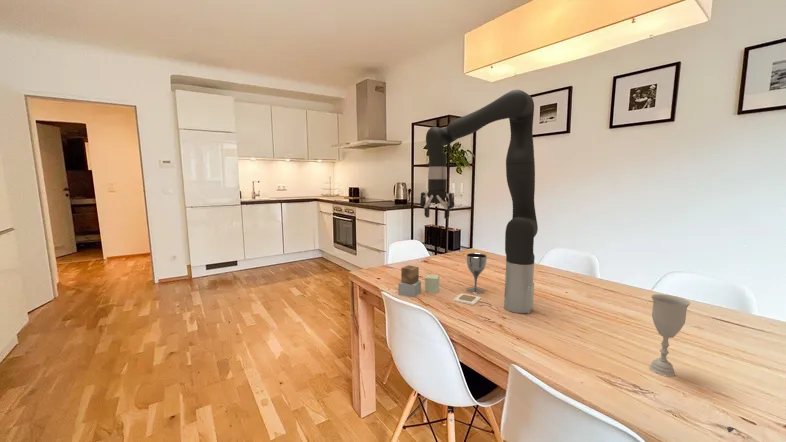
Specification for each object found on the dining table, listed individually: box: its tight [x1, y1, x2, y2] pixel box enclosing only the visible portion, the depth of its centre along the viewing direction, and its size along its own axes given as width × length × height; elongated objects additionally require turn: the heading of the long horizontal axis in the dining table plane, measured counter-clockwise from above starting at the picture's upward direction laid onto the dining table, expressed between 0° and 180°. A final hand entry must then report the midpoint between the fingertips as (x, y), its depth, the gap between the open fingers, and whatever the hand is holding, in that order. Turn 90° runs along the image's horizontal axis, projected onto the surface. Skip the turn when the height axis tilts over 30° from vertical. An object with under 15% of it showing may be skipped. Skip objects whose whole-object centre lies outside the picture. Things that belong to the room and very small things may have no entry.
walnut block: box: [400, 265, 420, 285], centre depth 129 cm, size 5×5×6 cm
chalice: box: [649, 293, 691, 377], centre depth 77 cm, size 7×7×18 cm
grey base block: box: [397, 279, 422, 298], centre depth 131 cm, size 7×7×5 cm
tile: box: [453, 293, 482, 306], centre depth 124 cm, size 8×8×1 cm
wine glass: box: [466, 252, 488, 294], centre depth 133 cm, size 8×8×15 cm
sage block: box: [424, 274, 440, 294], centre depth 134 cm, size 5×5×6 cm
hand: (436, 217), depth 133 cm, fingers open, 8 cm apart
